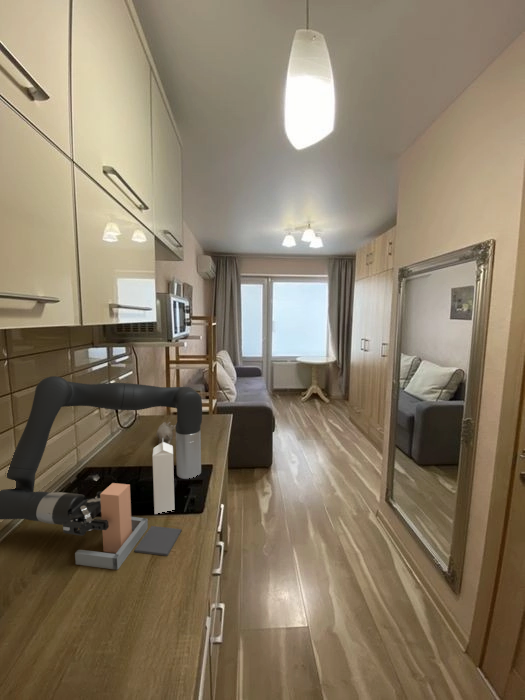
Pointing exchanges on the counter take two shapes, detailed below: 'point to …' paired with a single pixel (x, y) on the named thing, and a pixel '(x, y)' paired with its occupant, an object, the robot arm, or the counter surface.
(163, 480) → the milk
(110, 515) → the post
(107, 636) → the counter surface
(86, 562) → the stall
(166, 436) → the rhinoceros figurine
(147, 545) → the mat
